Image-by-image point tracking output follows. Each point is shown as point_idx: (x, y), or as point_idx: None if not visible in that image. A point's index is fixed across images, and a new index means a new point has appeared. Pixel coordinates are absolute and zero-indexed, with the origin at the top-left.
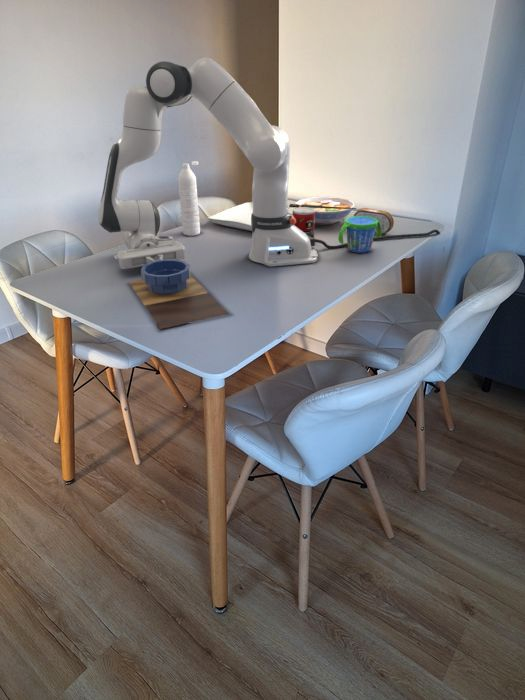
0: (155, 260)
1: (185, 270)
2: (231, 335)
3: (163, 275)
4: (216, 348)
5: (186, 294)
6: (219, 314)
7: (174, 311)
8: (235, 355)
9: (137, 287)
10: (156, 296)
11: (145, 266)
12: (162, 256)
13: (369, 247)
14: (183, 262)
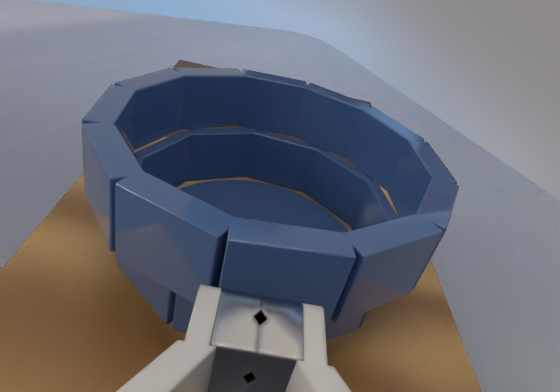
0: (289, 314)
1: (194, 68)
2: (233, 45)
3: (328, 93)
4: (282, 46)
5: None
6: (204, 67)
7: None
8: (263, 32)
9: (439, 358)
10: None
11: (423, 209)
12: (134, 378)
13: None
14: (111, 114)
